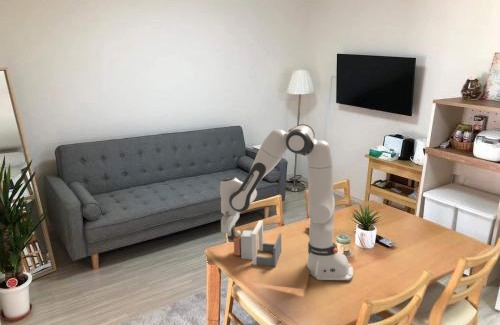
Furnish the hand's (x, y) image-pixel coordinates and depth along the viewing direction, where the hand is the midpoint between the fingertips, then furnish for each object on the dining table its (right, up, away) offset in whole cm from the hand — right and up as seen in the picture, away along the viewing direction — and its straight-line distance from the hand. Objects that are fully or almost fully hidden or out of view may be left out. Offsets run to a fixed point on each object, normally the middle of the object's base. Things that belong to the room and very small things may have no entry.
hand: (231, 233), depth 197 cm
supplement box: (+9, -12, +1) cm, 15 cm away
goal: (+19, -12, -2) cm, 23 cm away
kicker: (+2, -10, +2) cm, 11 cm away
